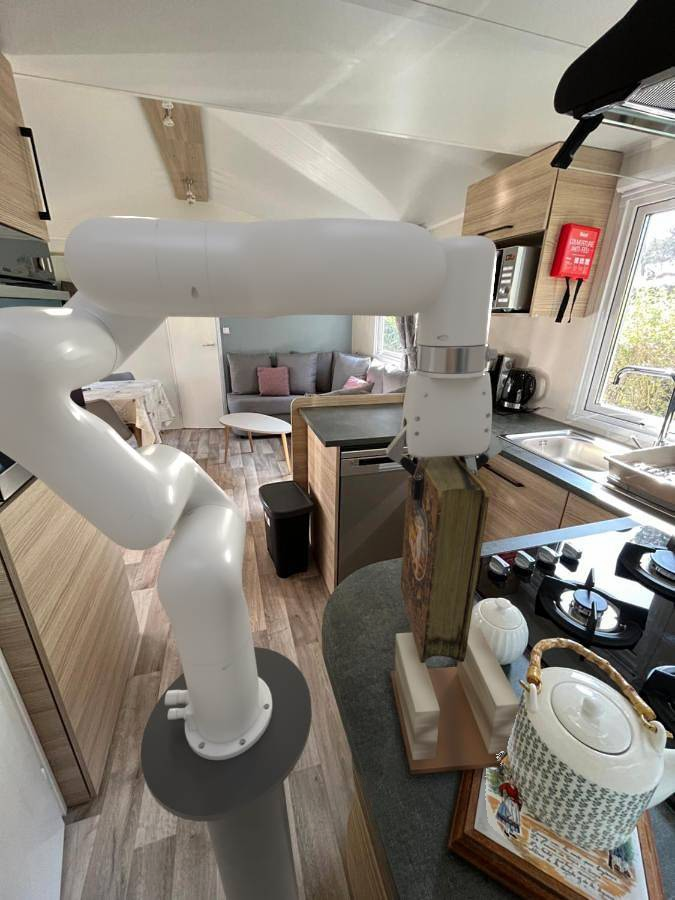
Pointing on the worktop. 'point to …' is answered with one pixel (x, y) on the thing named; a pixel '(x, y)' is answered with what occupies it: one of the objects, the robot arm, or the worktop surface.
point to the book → (443, 557)
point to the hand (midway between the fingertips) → (440, 501)
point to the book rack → (453, 708)
